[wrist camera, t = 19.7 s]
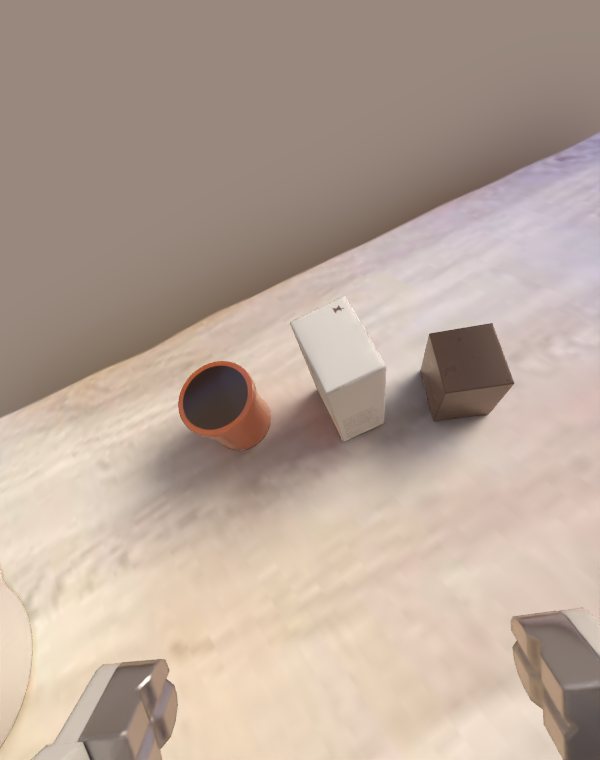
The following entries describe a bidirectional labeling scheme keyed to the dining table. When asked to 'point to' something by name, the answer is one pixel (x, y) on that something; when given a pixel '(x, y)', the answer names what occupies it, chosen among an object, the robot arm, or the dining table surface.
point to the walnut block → (464, 372)
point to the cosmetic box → (343, 367)
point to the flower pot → (224, 406)
